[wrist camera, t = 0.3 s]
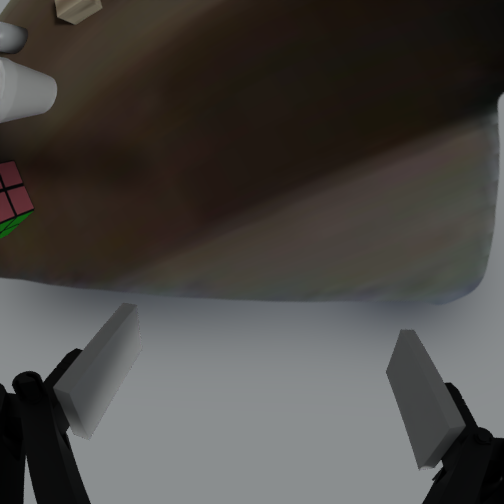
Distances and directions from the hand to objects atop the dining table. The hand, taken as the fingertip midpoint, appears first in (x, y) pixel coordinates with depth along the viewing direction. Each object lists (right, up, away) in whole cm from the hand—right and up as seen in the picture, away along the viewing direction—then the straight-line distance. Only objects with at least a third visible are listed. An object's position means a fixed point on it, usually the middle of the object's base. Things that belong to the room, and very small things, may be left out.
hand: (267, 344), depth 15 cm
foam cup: (-33, +29, +22) cm, 49 cm away
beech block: (-26, +42, +17) cm, 52 cm away
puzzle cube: (-43, +14, +29) cm, 53 cm away
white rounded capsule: (-41, +41, +19) cm, 60 cm away
